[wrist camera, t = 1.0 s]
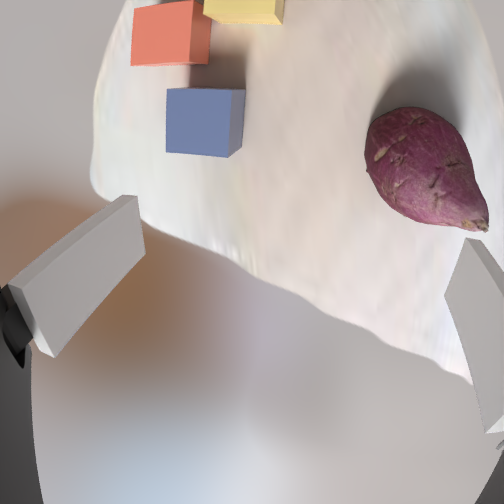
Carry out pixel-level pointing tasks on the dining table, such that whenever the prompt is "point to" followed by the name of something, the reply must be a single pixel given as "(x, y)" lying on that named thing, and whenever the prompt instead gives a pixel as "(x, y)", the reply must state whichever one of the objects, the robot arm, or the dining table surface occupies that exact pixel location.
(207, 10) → the mustard brick
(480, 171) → the dining table surface
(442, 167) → the vegetable
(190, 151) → the blue cube
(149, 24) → the red brick
